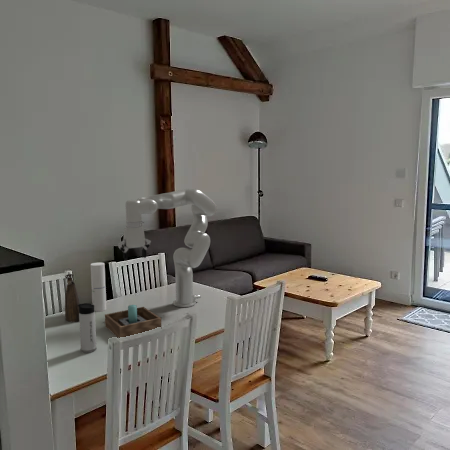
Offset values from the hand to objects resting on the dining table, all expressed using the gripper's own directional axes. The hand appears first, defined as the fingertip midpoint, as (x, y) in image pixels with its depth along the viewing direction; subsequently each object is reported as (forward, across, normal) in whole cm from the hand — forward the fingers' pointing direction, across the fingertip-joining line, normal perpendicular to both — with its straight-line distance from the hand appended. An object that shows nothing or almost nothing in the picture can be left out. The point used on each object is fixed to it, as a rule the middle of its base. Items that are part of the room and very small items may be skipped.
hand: (135, 258), depth 220 cm
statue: (+31, +28, -14) cm, 44 cm away
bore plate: (+30, +8, +14) cm, 34 cm away
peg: (+29, +8, +14) cm, 33 cm away
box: (+30, +8, +14) cm, 34 cm away
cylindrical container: (+31, +12, -22) cm, 39 cm away
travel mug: (+31, +33, +26) cm, 52 cm away
